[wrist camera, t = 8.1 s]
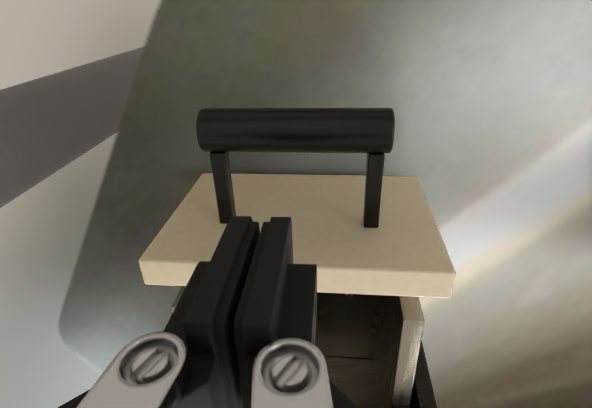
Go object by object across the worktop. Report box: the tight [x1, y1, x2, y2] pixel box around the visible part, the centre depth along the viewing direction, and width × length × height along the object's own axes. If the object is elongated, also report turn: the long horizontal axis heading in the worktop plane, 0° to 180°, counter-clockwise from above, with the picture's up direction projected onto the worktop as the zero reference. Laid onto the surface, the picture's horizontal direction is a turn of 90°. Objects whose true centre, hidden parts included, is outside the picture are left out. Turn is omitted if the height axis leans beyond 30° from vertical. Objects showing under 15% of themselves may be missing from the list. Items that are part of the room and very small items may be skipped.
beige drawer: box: [138, 108, 456, 408], centre depth 19 cm, size 18×11×8 cm, turn 2°
